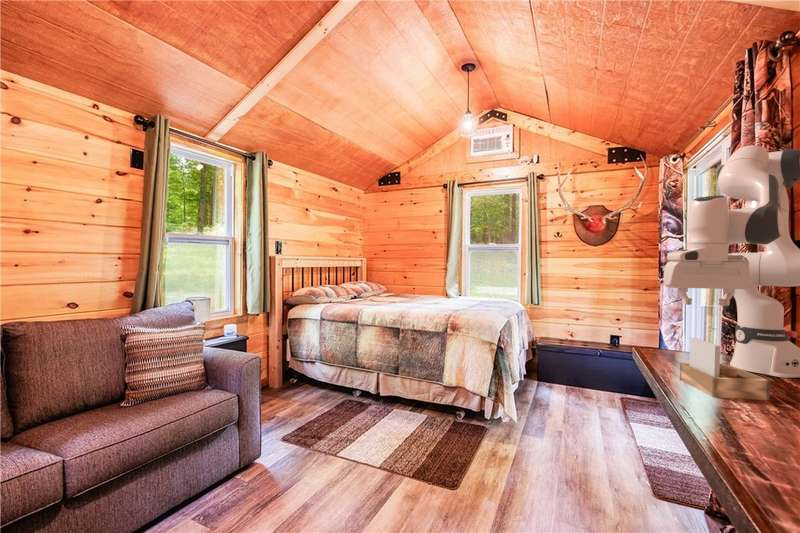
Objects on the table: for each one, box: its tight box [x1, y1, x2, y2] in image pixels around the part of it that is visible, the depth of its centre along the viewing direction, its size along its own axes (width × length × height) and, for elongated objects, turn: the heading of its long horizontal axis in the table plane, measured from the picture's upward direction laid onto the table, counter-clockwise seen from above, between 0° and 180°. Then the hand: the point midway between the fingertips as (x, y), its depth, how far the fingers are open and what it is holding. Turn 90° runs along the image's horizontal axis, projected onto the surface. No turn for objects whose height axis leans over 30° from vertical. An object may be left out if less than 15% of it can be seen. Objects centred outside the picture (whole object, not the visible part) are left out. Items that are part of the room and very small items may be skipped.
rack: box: [679, 362, 771, 401], centre depth 102 cm, size 13×14×6 cm
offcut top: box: [719, 362, 737, 378], centre depth 102 cm, size 4×7×2 cm, turn 173°
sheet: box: [688, 337, 721, 377], centre depth 102 cm, size 1×10×13 cm, turn 173°
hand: (705, 304), depth 102 cm, fingers open, 8 cm apart
